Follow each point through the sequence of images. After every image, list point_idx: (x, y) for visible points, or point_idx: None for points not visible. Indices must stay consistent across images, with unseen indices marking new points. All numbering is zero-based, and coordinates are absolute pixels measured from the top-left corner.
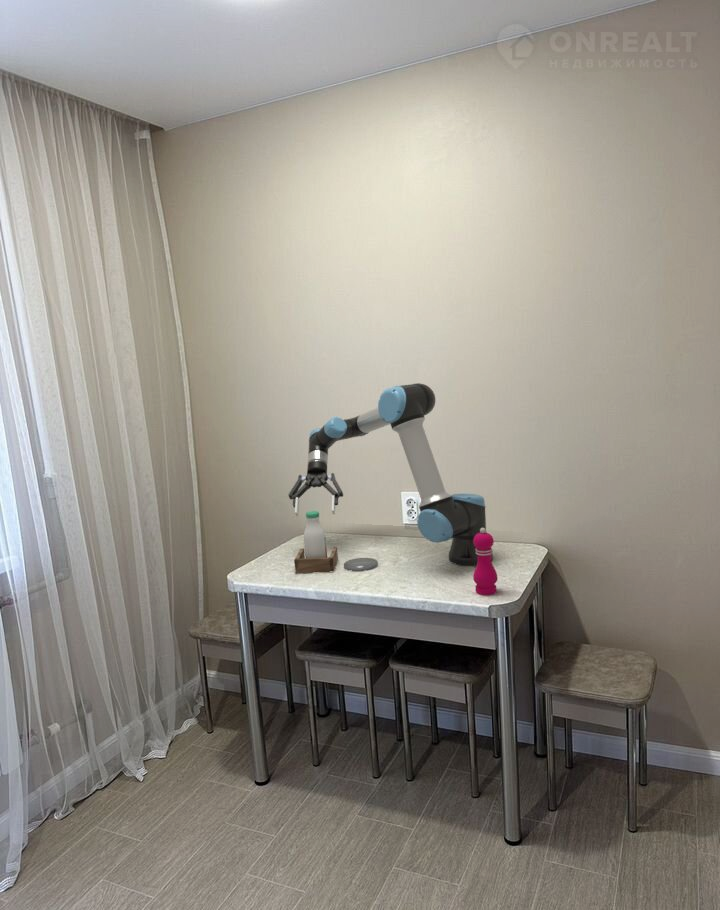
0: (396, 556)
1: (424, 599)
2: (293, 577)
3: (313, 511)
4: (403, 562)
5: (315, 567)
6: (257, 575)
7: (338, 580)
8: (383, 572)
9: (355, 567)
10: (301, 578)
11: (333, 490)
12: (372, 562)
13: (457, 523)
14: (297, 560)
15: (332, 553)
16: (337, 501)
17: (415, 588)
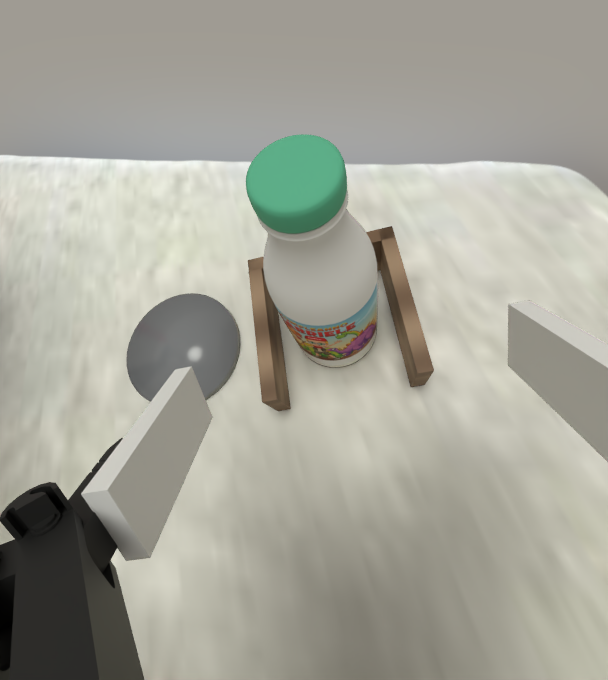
0: (73, 456)
1: (41, 159)
2: None
3: (290, 189)
4: (57, 389)
5: None
6: (530, 228)
7: (233, 225)
8: (116, 297)
9: (192, 303)
10: None
11: (37, 586)
12: (142, 354)
13: None
14: (379, 230)
15: (260, 311)
16: (104, 454)
17: (50, 206)
